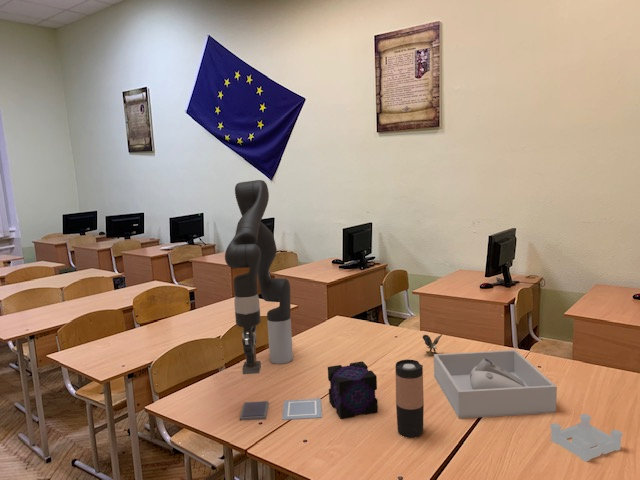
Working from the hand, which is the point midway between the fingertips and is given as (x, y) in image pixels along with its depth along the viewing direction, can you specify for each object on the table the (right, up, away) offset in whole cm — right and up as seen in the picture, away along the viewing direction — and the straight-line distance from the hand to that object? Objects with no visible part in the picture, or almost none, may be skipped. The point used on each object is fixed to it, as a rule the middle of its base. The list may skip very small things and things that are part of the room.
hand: (251, 362), depth 152 cm
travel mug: (+47, -17, -13) cm, 51 cm away
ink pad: (+1, -16, +2) cm, 17 cm away
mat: (+16, -16, +3) cm, 22 cm away
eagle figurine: (+66, -7, +42) cm, 78 cm away
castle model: (+91, -17, -24) cm, 96 cm away
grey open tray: (+77, -12, +7) cm, 78 cm away
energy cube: (+32, -15, +3) cm, 35 cm away
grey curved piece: (+78, -11, +7) cm, 79 cm away
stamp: (0, -3, 0) cm, 3 cm away
